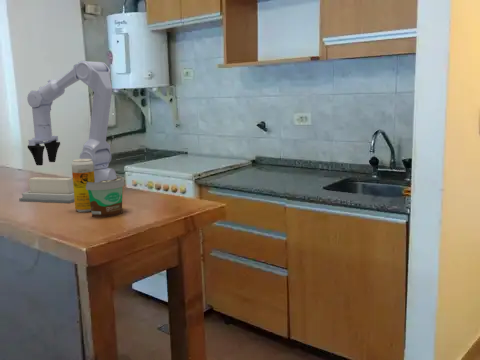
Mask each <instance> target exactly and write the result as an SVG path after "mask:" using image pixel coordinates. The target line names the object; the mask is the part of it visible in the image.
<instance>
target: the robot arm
mask: <svg viewBox="0 0 480 360" xmlns="http://www.w3.org/2000/svg"><path fill="white" fill-rule="evenodd" d="M111 71H112V70H111V69H110V67H109V66H108V65H107V64H106V63H105V62H103V61H88V60H87V61H86V60H80V61H79V62H78V63H76V64H74V65H73V68H71V69H70V70H69V71H67V72H66V73H65V74H64V75H62V76H61V77H60V78H58V79H48V80H47V83H46V84H45V85H42V86H40V87H39V88H38V89H37V90H30V92H28V94H27V96H26V97H27V103H28V105H29V107H31V111H32V120H33V121H32V122H33V123H32V124H33V131H34V137H32V139H28V141H27V142H28V145H27V149H28V150H29V152H30V153H31V155H32V157H33V159H34V162H35V165H36V166H43V165H44V150H46V152H47V153H46V154H47V158H48V162H49V163H55V162H56V159H57V156H58V155H57V154H58V150H59V148H60V146H61V141H59V135H53V132H52V131H53V130H52V121H51V111H52V105H53V103H54V101H55V100H57V99H58V98H60V97H61V96H63V95H64V93H65V91H66V90H65V89H67V88H68V87H70V86H71V85H73V84H75V83H77V82H79V81H81V82H83V84H85V85H86V86H88V87H89V88H90V89H91V90H92V92H93V100H92V107H91V109H92V110H91V117H90V128H89V133H88V135H89V136H88V139H87V141H86V142H85V143H84V144H83V146H82V150H81V153H80V154H79V159H92V162H93V164H94V178H95V182H100V181H103V180H114V179H117V173H116V170H115V169H114V168H109V164H110V162H112V151H111V144H110V143H109V142H108V141H107V134H108V127H109V121H110V120H109V118H110V111H111V103H112V96H113V95H112V94H113V85H112V82H111ZM42 144H43V145H42Z"/></svg>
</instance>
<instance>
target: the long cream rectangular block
mask: <svg viewBox="0 0 480 360" xmlns="http://www.w3.org/2000/svg"><path fill="white" fill-rule="evenodd" d="M28 183H29V191H30V193H39V194H69V195H70V194H73V193H74V188H73V177H70V178H69V177H37V176H35V177H31V178H29V179H28Z"/></svg>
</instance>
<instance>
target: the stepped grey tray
mask: <svg viewBox="0 0 480 360" xmlns="http://www.w3.org/2000/svg"><path fill="white" fill-rule="evenodd" d="M21 196H22V197H20V198H19V201H18V202H31V203H33V202H34V203H55V204H56V203H58V204H60V203H61V204H72V203H75V201H74V193H73V194H70V195H69V194H39V193H30V190H29V191H26V192H22V193H21Z"/></svg>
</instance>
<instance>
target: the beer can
mask: <svg viewBox="0 0 480 360" xmlns="http://www.w3.org/2000/svg"><path fill="white" fill-rule="evenodd" d="M71 173H72V176H71V177H72V178H73V188H74V209H75V210H77V211H76V212H78V213H89V212H91V206H90V200H89V194H88V190H86V185H87V182H95V178H94V164H93V162H92V159H80V158H77V159H73V160H72V163H71Z"/></svg>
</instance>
